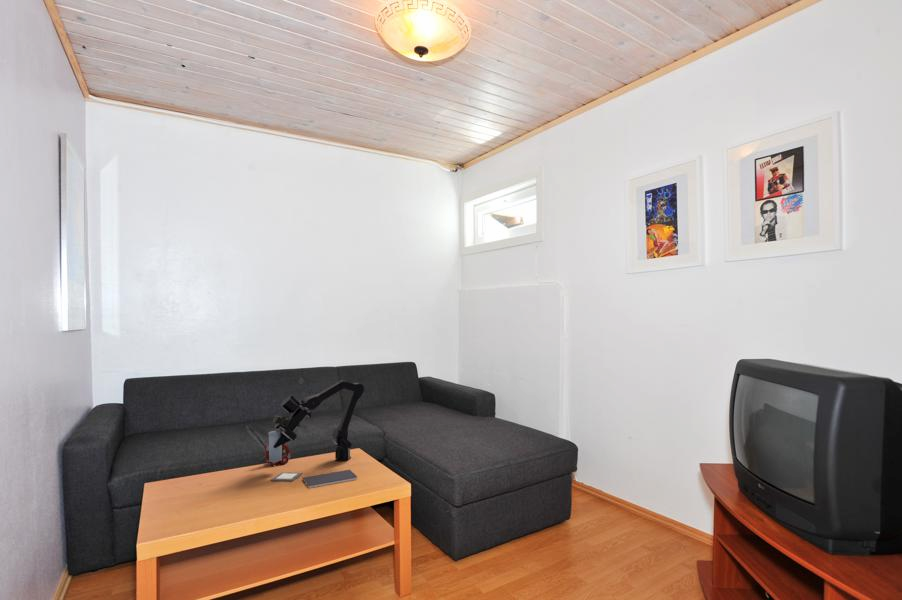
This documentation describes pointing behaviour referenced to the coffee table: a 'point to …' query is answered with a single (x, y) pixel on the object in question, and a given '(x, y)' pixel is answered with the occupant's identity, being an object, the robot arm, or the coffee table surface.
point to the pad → (286, 477)
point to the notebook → (329, 478)
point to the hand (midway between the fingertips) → (272, 446)
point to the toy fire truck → (284, 456)
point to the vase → (274, 453)
